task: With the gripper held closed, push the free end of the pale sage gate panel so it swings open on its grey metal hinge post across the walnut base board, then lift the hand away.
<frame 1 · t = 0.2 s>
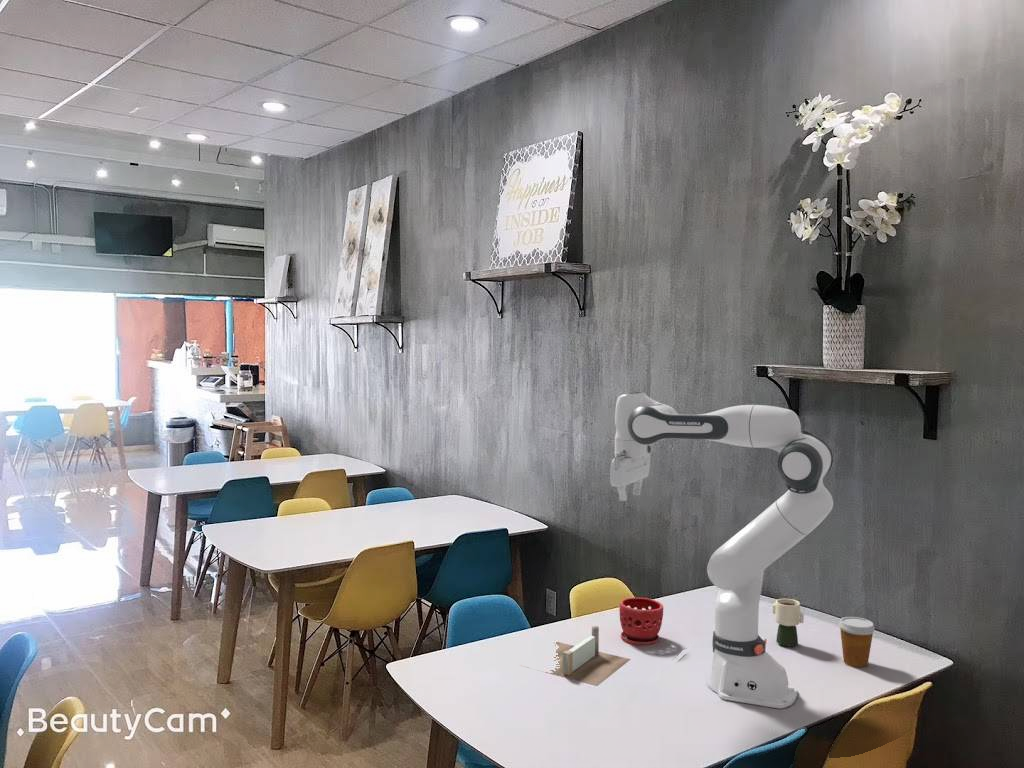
hand: (629, 497, 227), 47 cm above the table, tool pointing down, fingers open, 8 cm apart
gate base board: (575, 665, 226), on the table
disposable coffee cup: (855, 664, 228), on the table
plant pot: (640, 642, 245), on the table
character mug: (787, 644, 242), on the table
gate: (579, 654, 224), point 4 cm above the table, hinge at 0.0°
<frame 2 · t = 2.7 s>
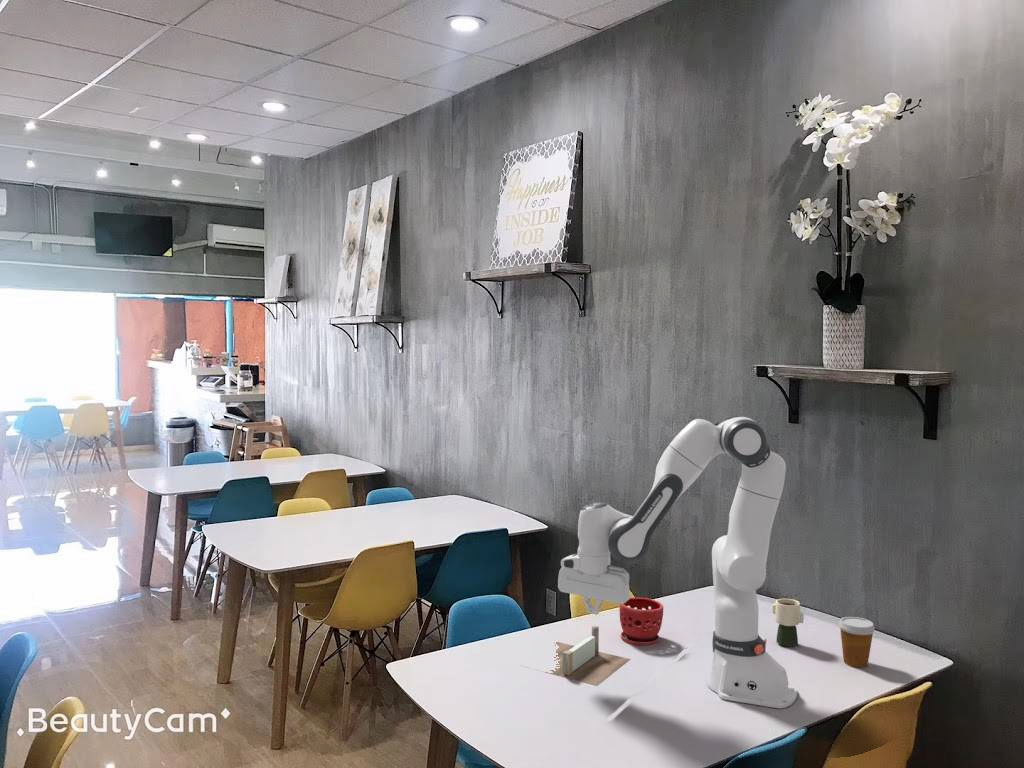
hand: (592, 613, 217), 18 cm above the table, tool pointing down, fingers closed
nothing on the table moved.
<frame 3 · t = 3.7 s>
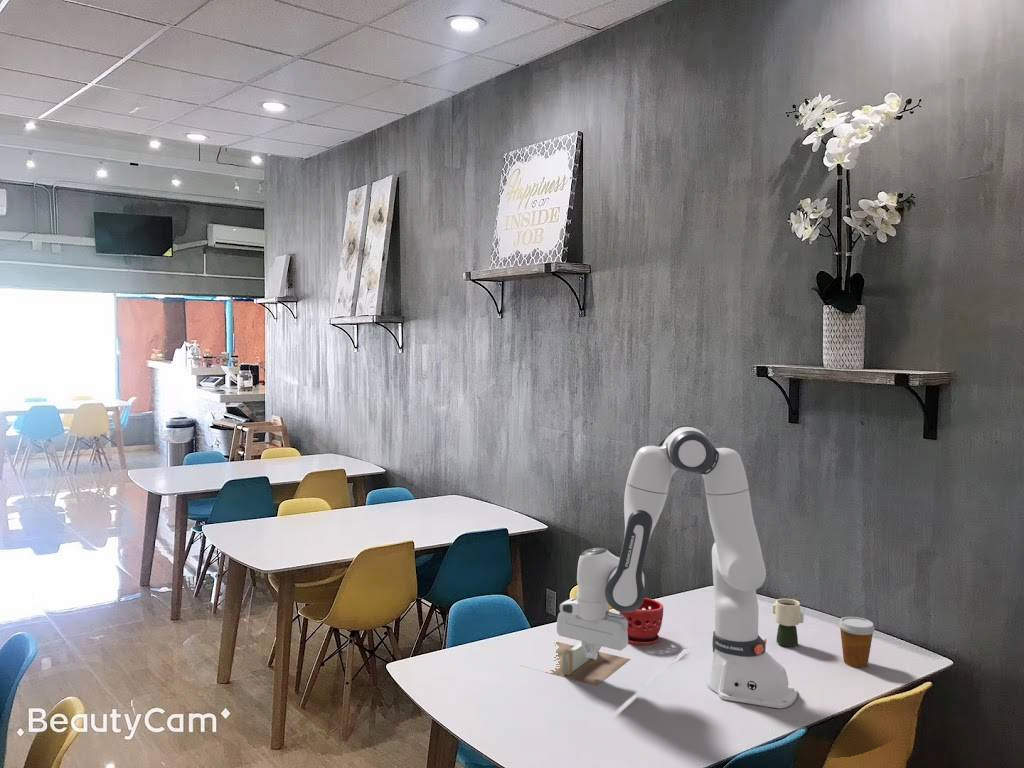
hand: (591, 658, 217), 6 cm above the table, tool pointing down, fingers closed
nothing on the table moved.
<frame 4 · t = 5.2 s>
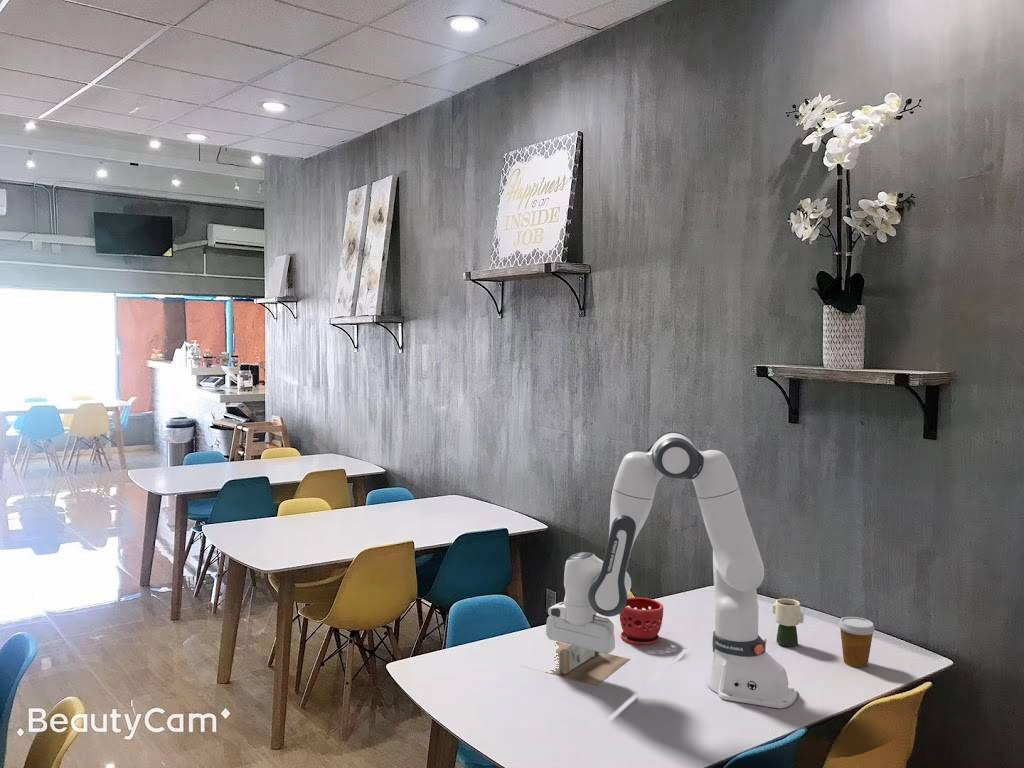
hand: (579, 661, 220), 4 cm above the table, tool pointing down, fingers closed
gate: (577, 653, 224), point 4 cm above the table, hinge at 3.6°, touching gripper
everything else where it was.
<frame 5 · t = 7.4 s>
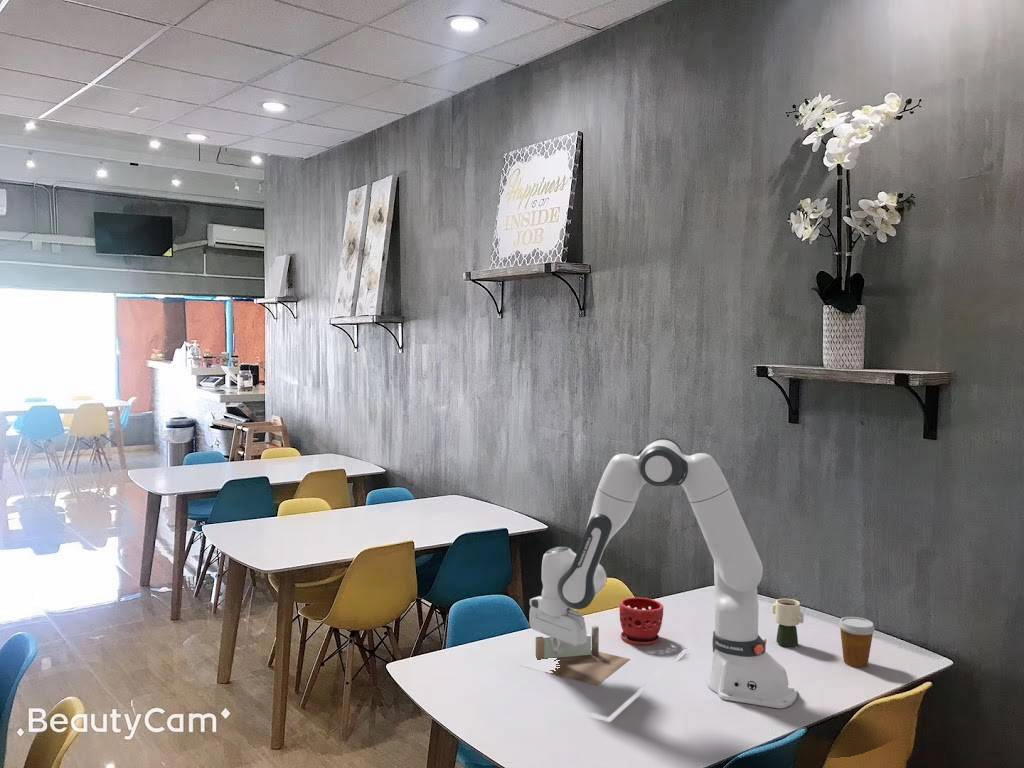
hand: (557, 652, 226), 4 cm above the table, tool pointing down, fingers closed
gate: (563, 646, 230), point 4 cm above the table, hinge at 44.4°, touching gripper
everything else where it was.
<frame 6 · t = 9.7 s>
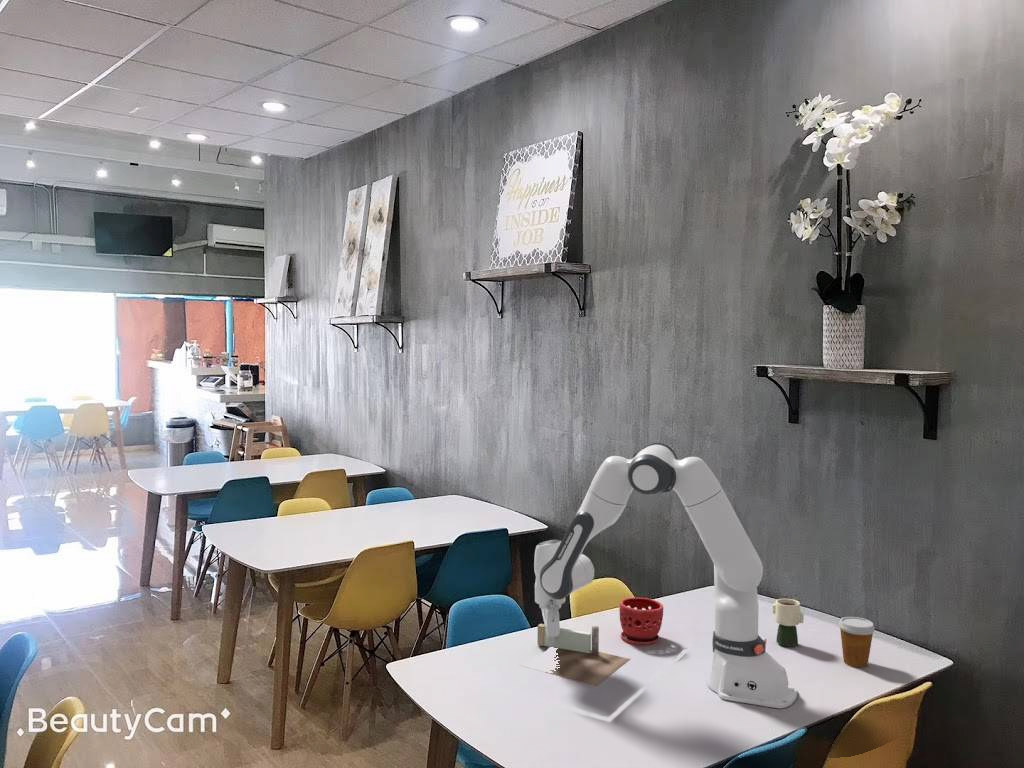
hand: (551, 642, 234), 4 cm above the table, tool pointing down, fingers closed
gate: (564, 638, 235), point 4 cm above the table, hinge at 80.8°, touching gripper
everything else where it was.
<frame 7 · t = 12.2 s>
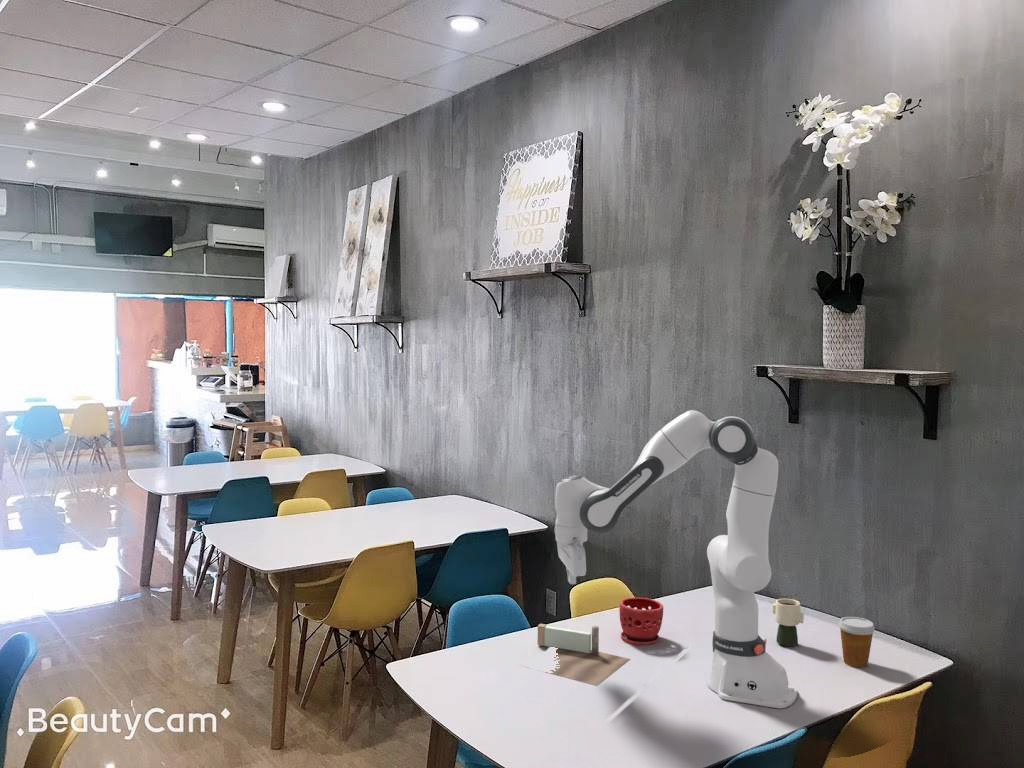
hand: (571, 582, 224), 24 cm above the table, tool pointing down, fingers closed
gate: (564, 638, 235), point 4 cm above the table, hinge at 81.1°
everything else where it was.
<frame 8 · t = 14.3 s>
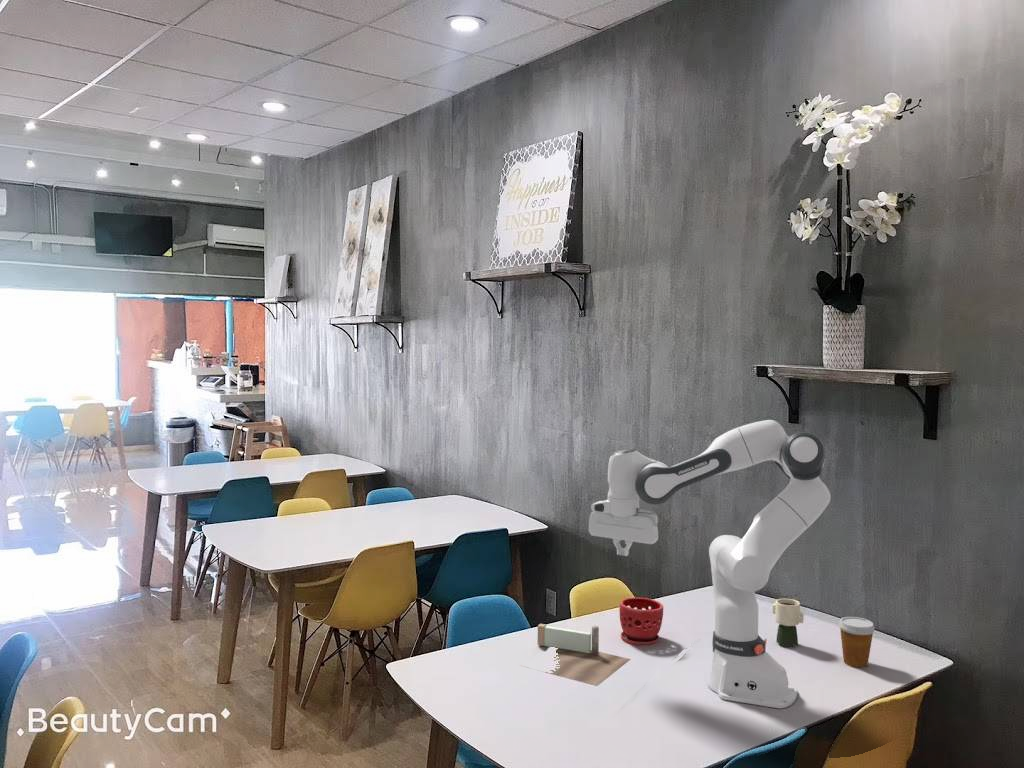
hand: (622, 555, 227), 31 cm above the table, tool pointing down, fingers closed
nothing on the table moved.
at the end: gate at +81° (first picture: +0°); plant pot moved 0.3 cm from its start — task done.
